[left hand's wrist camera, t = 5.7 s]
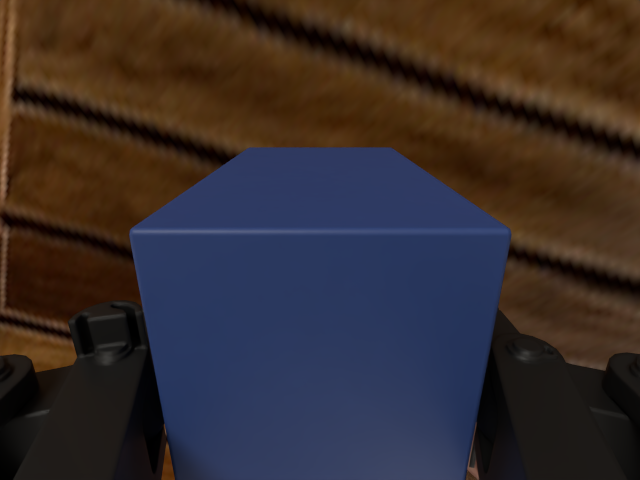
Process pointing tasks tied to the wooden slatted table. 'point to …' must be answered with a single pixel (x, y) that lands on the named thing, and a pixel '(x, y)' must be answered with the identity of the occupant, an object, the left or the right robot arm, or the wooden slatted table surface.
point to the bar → (320, 317)
